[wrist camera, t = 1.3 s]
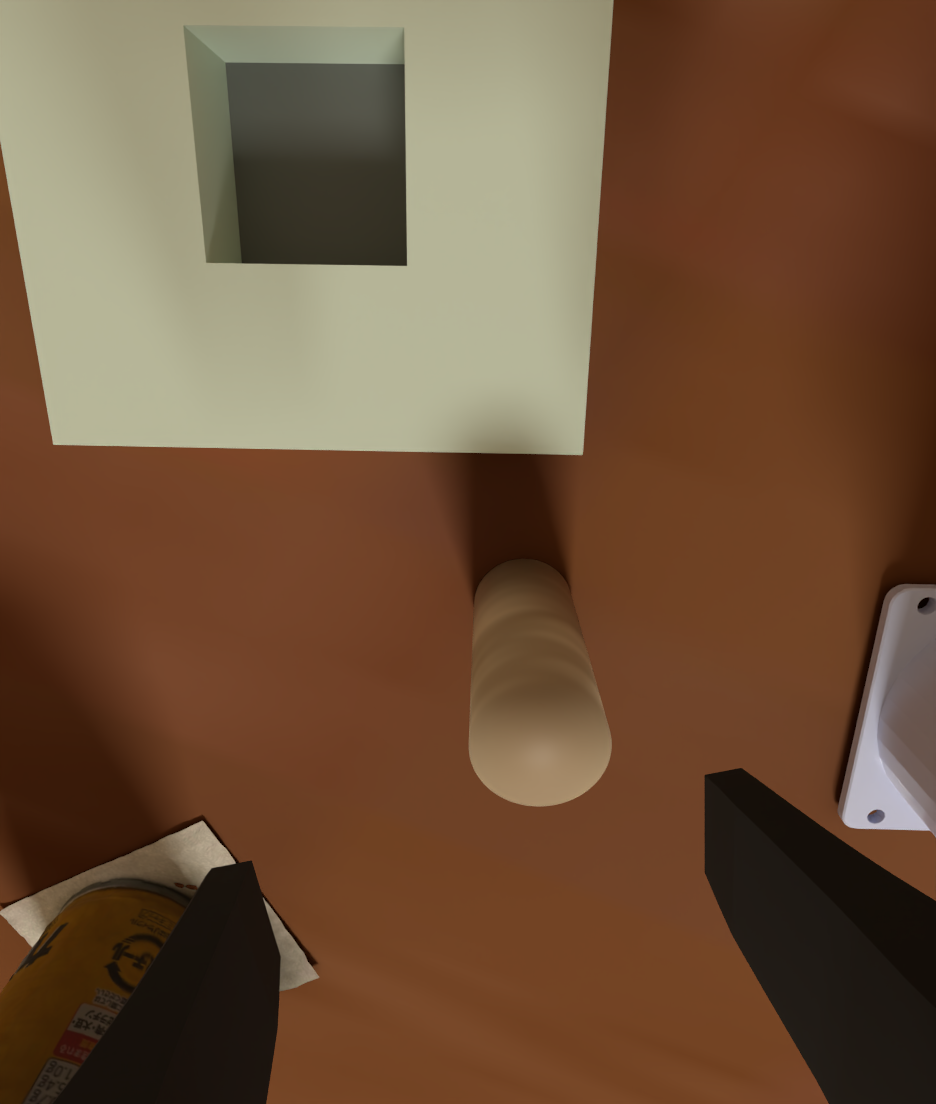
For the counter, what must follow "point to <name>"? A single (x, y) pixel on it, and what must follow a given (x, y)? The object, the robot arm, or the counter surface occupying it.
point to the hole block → (309, 219)
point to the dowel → (533, 689)
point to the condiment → (101, 956)
